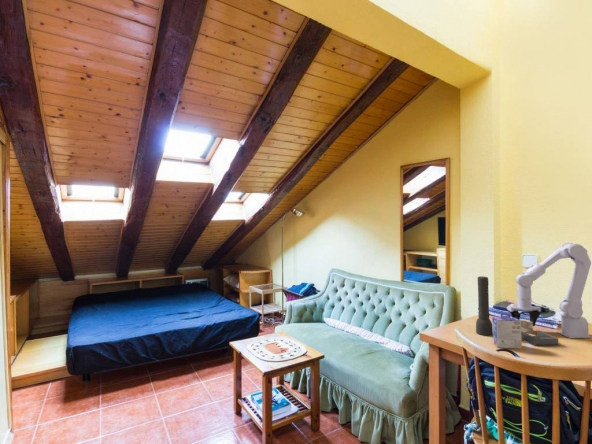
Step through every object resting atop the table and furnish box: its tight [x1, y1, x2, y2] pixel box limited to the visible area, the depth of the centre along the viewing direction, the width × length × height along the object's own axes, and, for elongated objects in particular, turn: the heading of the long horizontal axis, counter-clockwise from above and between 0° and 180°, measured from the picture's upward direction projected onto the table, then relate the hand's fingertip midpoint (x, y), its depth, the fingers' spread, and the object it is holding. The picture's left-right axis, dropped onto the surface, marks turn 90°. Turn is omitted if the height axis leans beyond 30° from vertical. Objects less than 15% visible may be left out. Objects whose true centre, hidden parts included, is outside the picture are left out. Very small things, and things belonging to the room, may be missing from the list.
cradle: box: [521, 330, 559, 347], centre depth 145 cm, size 10×10×3 cm
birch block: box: [520, 319, 534, 333], centre depth 159 cm, size 4×4×5 cm
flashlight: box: [475, 276, 493, 337], centre depth 156 cm, size 7×28×7 cm
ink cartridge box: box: [491, 312, 523, 350], centre depth 140 cm, size 10×6×14 cm, turn 78°
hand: (524, 325), depth 159 cm, fingers open, 7 cm apart
